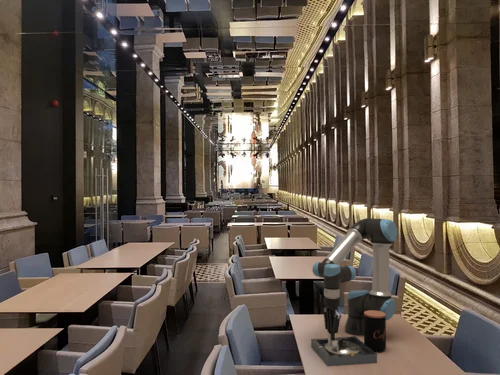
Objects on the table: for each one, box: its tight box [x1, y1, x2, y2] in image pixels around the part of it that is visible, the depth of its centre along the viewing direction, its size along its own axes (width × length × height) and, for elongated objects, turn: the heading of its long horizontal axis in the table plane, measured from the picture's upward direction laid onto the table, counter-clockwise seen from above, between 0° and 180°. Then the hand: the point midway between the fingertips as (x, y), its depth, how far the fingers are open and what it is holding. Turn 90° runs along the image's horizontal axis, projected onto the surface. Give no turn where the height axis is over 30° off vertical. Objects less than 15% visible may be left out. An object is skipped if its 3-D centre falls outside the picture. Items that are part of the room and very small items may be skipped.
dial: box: [325, 336, 360, 355], centre depth 200 cm, size 17×17×6 cm
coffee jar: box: [363, 310, 387, 353], centre depth 207 cm, size 11×11×18 cm
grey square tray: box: [310, 335, 378, 367], centre depth 200 cm, size 24×24×5 cm
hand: (331, 346), depth 196 cm, fingers closed
